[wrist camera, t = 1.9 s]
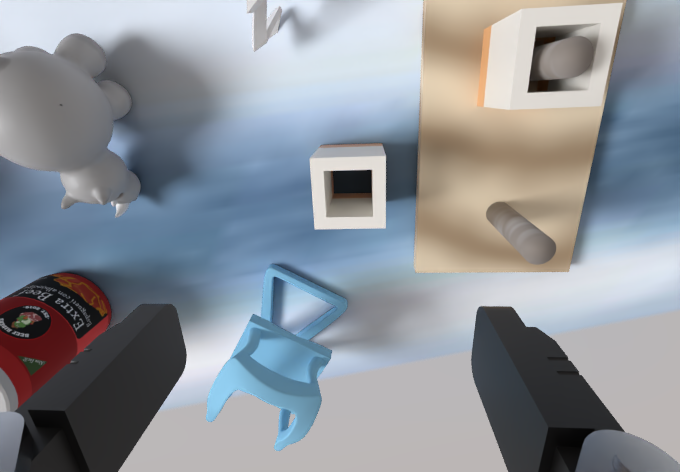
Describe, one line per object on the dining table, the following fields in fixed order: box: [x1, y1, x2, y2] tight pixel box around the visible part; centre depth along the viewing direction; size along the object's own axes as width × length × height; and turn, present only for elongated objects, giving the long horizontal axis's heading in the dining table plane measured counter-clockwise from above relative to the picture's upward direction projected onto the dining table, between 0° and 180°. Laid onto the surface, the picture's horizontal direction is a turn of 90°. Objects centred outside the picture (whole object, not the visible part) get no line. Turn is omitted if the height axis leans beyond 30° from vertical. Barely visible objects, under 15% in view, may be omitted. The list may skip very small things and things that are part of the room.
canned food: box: [0, 273, 111, 412], centre depth 30 cm, size 8×8×11 cm
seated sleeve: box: [477, 3, 623, 110], centre depth 21 cm, size 5×5×6 cm
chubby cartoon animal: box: [0, 33, 141, 218], centre depth 25 cm, size 7×12×8 cm, turn 7°
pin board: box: [414, 0, 627, 273], centre depth 23 cm, size 20×12×8 cm, turn 2°
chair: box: [206, 264, 348, 451], centre depth 28 cm, size 8×8×12 cm
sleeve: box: [310, 143, 386, 229], centre depth 25 cm, size 5×5×6 cm
